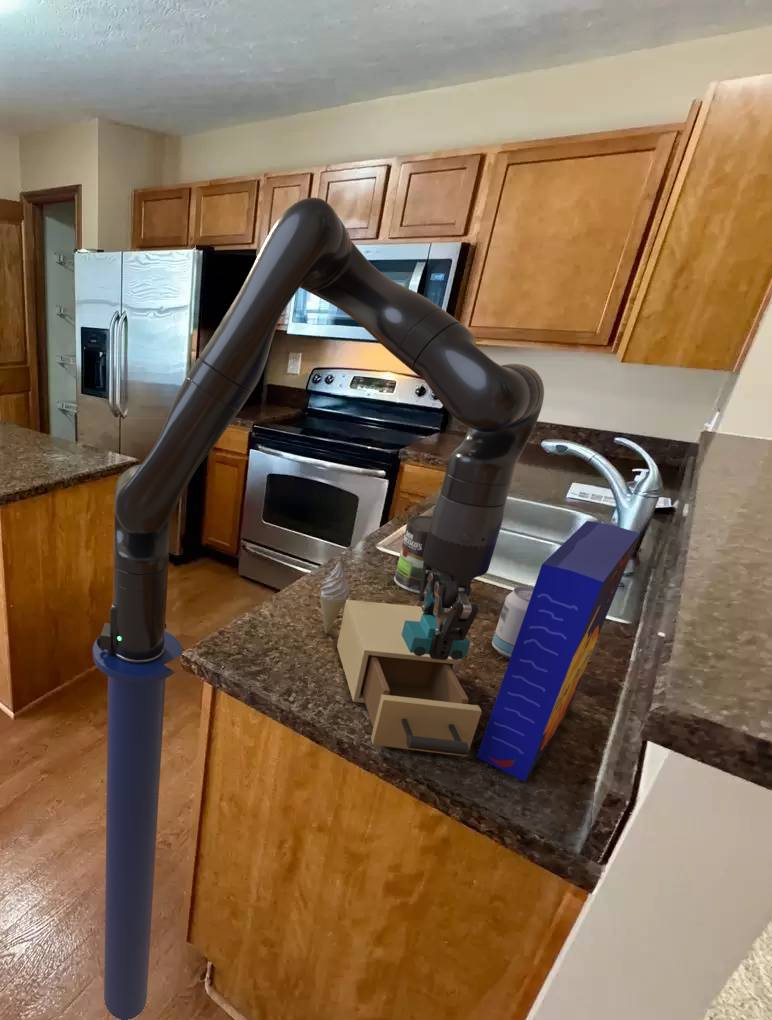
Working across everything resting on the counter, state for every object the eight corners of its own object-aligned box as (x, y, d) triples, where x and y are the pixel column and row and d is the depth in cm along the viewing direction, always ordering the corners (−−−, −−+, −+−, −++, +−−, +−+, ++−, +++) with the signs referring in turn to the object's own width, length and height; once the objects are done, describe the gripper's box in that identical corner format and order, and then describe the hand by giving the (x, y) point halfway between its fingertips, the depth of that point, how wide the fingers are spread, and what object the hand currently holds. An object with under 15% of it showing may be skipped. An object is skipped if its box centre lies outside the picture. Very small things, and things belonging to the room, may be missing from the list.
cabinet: (445, 712, 91) (461, 660, 87) (353, 701, 93) (364, 650, 89) (416, 654, 105) (429, 607, 101) (336, 646, 107) (346, 599, 103)
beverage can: (530, 670, 102) (552, 608, 97) (485, 653, 106) (504, 594, 101) (538, 653, 106) (560, 594, 101) (495, 638, 110) (514, 580, 106)
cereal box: (525, 782, 78) (604, 579, 66) (476, 757, 82) (542, 562, 70) (568, 709, 92) (640, 531, 80) (525, 691, 96) (587, 518, 84)
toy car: (465, 660, 78) (473, 633, 77) (409, 655, 79) (416, 628, 78) (453, 642, 82) (461, 616, 81) (400, 637, 83) (406, 611, 82)
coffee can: (409, 596, 125) (424, 534, 119) (384, 574, 134) (397, 515, 128) (455, 594, 126) (472, 533, 120) (427, 572, 135) (442, 514, 129)
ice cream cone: (346, 635, 110) (361, 562, 104) (328, 643, 108) (342, 569, 102) (324, 622, 114) (337, 551, 108) (306, 630, 111) (319, 558, 105)
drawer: (481, 784, 77) (497, 737, 74) (380, 771, 78) (392, 725, 75) (434, 690, 94) (446, 649, 91) (353, 681, 96) (361, 640, 93)
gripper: (521, 558, 67) (481, 682, 74) (473, 513, 80) (443, 622, 87) (450, 552, 68) (417, 676, 75) (415, 509, 81) (390, 617, 88)
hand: (431, 646), depth 81 cm, fingers closed on toy car, 4 cm apart
